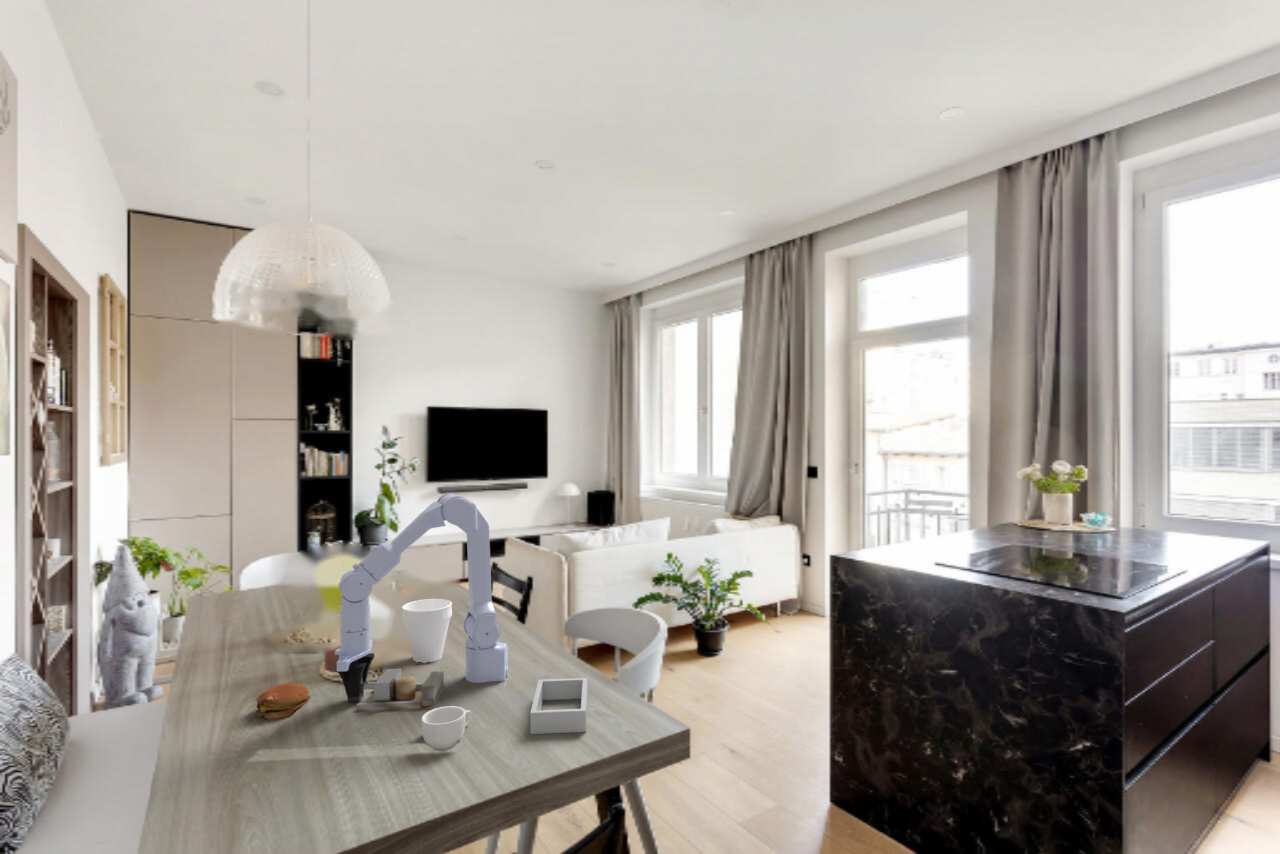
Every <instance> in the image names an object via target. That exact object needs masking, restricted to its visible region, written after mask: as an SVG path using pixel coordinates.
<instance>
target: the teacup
mask: <svg viewBox="0 0 1280 854" xmlns="http://www.w3.org/2000/svg"><path fill="white" fill-rule="evenodd" d="M467 714H468V716H469V717H468V719H467V721H466V718H467V717H466V716H467ZM472 718H473V713H472V711H471V710H468V709H467V710H466V709H465V708H463V707H461V706H457V705H456V706H455V705H449V706H447V705H446V706H440V707H436V708H432V710H427V712H425V713H424V714H423V715H422V716H421V729H422V732H421V733H422V737H423V740H424V742H425V744H426V745H427V746H428V747H429V748H430V749H433V750H436V751H445V750H449V749H452V748H454V747H455V746H456V745H458V744H459V743H460V742H461V741H460V740H461V739H462V738H463V737H464V734H465V730H466V727H468V725H469V724H470V723H471V721H472Z"/></svg>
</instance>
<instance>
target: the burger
mask: <svg viewBox="0 0 1280 854" xmlns="http://www.w3.org/2000/svg"><path fill="white" fill-rule="evenodd" d="M310 700H311V695H310V690H309V688H307V687H306V686H304V685H302V684H299V683H290V682H289V683H282V684H279V685H276V686H275V685H274V686H273V687H270V688H268V689H266V690H263V692H261V693H260V694H259V695H258V696H257V698H256V702H257V703H256V708H257V710H256V711H255V712H256V713H257V714H259V716H260V717H264V718H265V719H266V720H269V721H270V720H271V721H272V720H273V721H274V720H281V719H286V718H290V717H292V716H293V715H294V714H295V713H296V712H298V711H299V710H300V709H301V708H302V707H303V706H304V705H306V704H307V703H309V702H310Z"/></svg>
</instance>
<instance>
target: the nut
mask: <svg viewBox="0 0 1280 854" xmlns="http://www.w3.org/2000/svg"><path fill="white" fill-rule="evenodd" d="M415 683H416V677H415V676H413V675H405V676H401V677H400V678H397V679H396V680H395V701H396V702H399V701H412V700H414V699H415V697H416V696H415Z"/></svg>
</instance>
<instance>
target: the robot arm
mask: <svg viewBox="0 0 1280 854" xmlns="http://www.w3.org/2000/svg"><path fill="white" fill-rule="evenodd" d="M445 521H446V522H447V523H449V524H451V525H453V526H456V527H458V528H459V529H460V530H462V531H463V532H464V533H465V534H466V544H467V545H466V547H467V549H466V551H467V572H468V573H467V574H468V576H467V577H468V581H467V582H468V600H469V601H468V604H467V606H466V609H467V610H466V611H467V612H466V616H465V619H464V621H463V629H464V632H465V633H466V635H467V636H468V637H467V640H466V641H465V680H466V681H467V682H469V683H474V684H475V683H476V684H481V683H489V682H504V684H503V689H504V688H505V686H506V683H507V681H508V679H509V646H508V643H505V642H499V638H500V637H501V627H500V624H499V623H498V621H497V617H496V615H497V614H496V610H495V608H494V607H495V606H494V605H493V599H492V596H493V595H492V570H491V569H492V568H491V547H490V546H491V544H490V543H491V542H490V526H489V523H488V521H487V520H486V518H485V517H484V516H483V514H482V513H481V512H480V510H479V509H478V507H477V505H476V504H475V503H474V502H473V501H471V500H470V499H468V498H467V497H465V496H462V495H458V494H456V493H452V492H449V493H448V492H447V493H444V494H442V495H440V497H439V498H438V499H437V501H433V502H431V504H429V505H428V506H427V507H426V508H425V509H423V511H422V512H420V513H419V514H418V515H417V517H415V518H414V519H413V520H412V521H411V523H409V524H408V525H407V526H406V527H405V528H404V530H402V531H401V532H400V533H399V534H398V535H397V536H396V537H395V538H394V539H393V540H391V542H382V543H380V544H379V545H377V546H376V545H373V546H372V547H370V551H371V552H370V553H369V554H368V555H366V557H364V558H363V559H362V560H361V561H360V562H359V563H354V564H353V565H352V566H351V567H352V568H353V569H352V570H348V571H346V572H345V573H344V574H343V575H342V576H341V578H340V581H339V583H338V589H339V591H340V593H341V599H340V605H341V607H340V609H339V610H340V611H339V616H340V617H339V618H340V619H339V620H340V621H339V623H340V634H339V635H340V648H337V649H336V650H334V656H339V657H338V660H337V661H336V665H335V671H336V672H337V674H338V675H339V676H340V678H341V680H342V683H343V686H344V690H345V695H346V696H347V698H348V697H358V696H359V693H360V686H361V679H362V674H363V673H364V682H367V678H368V674H369V670H370V667H371V666H372V665H371V664H372V663H373V661H374V658H375V653H373V652H372V648H373V646H374V644H373V640H374V639H373V638H371V605H370V595H371V593H372V589H373V586H374V585H376V584H378V583H379V582H380V581H381V580H382V579H384V578H385V577H386V576H387V575H388V574H389V573H390V572H392V570H393V569H395V567H397V566H398V565H399V564H400V563H401V555H402V554H403V552H405V551H406V550H407V549H408V548H410V546H412V545H413V544H414V543H415V542H416V541H417V540H419V539H420V538H422V536H424V535H425V534H426V533H427V532H428V531H429V530H431V529H436V528H442V527H446V524H445Z"/></svg>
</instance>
